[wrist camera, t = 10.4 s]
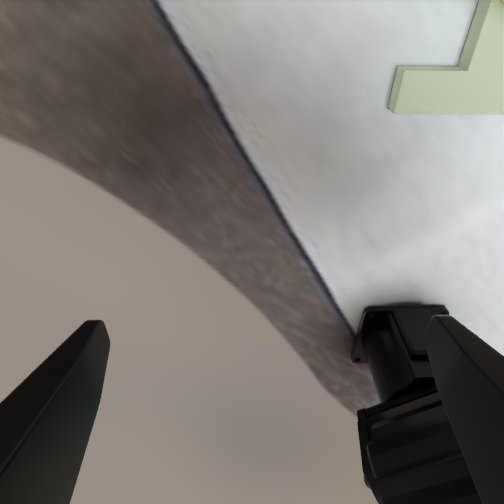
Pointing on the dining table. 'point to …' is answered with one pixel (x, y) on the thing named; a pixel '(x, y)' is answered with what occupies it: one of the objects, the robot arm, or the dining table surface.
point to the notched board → (459, 73)
